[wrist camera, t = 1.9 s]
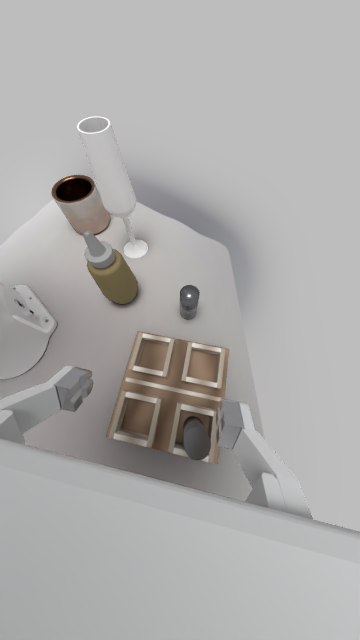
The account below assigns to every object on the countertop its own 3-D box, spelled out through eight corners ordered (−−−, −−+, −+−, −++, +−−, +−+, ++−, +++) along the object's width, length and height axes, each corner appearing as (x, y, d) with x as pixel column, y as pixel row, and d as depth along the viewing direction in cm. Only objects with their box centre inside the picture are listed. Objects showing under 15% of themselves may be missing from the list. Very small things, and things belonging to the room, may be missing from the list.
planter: (87, 206, 53) (68, 170, 44) (117, 215, 52) (104, 180, 43) (66, 230, 50) (41, 196, 41) (98, 241, 48) (79, 208, 39)
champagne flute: (125, 239, 48) (76, 112, 26) (149, 239, 48) (120, 113, 26) (121, 258, 46) (64, 137, 23) (146, 258, 46) (112, 137, 23)
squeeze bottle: (144, 281, 43) (120, 216, 26) (137, 310, 40) (105, 257, 24) (113, 278, 44) (70, 211, 27) (104, 306, 41) (50, 252, 24)
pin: (177, 310, 40) (176, 291, 32) (189, 303, 41) (192, 282, 33) (186, 322, 39) (187, 305, 31) (198, 314, 40) (203, 295, 31)
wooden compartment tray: (108, 434, 31) (76, 456, 22) (138, 332, 38) (124, 315, 29) (216, 461, 30) (232, 497, 20) (227, 350, 37) (243, 337, 27)
